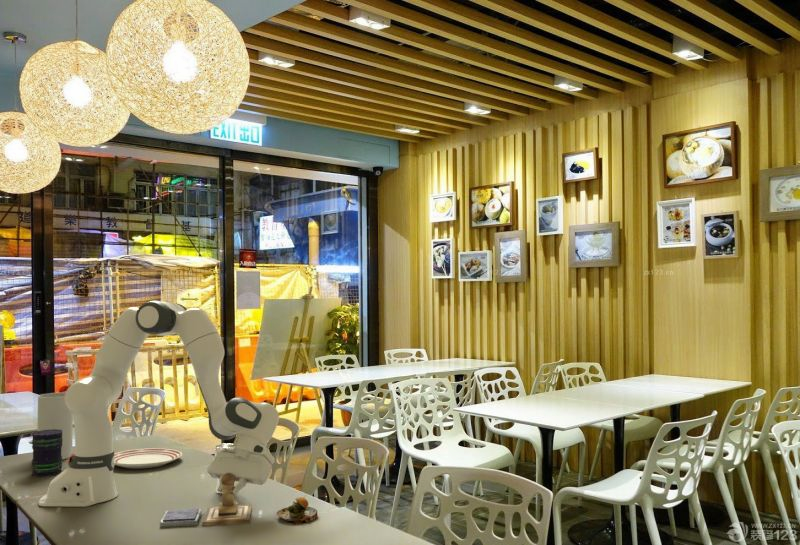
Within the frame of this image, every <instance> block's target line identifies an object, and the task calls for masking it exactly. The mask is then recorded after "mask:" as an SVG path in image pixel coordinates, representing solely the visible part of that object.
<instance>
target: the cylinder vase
mask: <svg viewBox="0 0 800 545" xmlns="http://www.w3.org/2000/svg"><path fill="white" fill-rule="evenodd" d="M65 393H66V392H50V393H42V394H39V395H38V396H37V431H41V430H52V429H57V430H62V438H63V441H62V447H61V456H62V461H63V460H68V458H69V457H70V456H71V454H73V436H74V435H73V433H74V432H73V429H74V428H73V427H74V422H73V418H72V414H71V411H70V409H69V408H68V407H67V405H66V403H65ZM37 431H36V432H37Z"/></svg>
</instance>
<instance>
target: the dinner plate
mask: <svg viewBox="0 0 800 545" xmlns="http://www.w3.org/2000/svg"><path fill="white" fill-rule="evenodd" d="M114 456H115V463H114V466H118V467H121V468H124V469H132V470H133V469H135V470H136V469H138V470H140V469H151V468H157V467H161V466H165V465H167V464H169V463H171V462H174V461H176V460H177V459H179V458H181V457H182V456H183V452H182V451H179V450H177V449H172V448H159V447H158V448H152V447H151V448H150V447H149V448H148V447H147V448H137V449H136V448H135V449H129V450H128V449H127V450H122V451H119V452H114Z"/></svg>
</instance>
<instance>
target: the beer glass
mask: <svg viewBox="0 0 800 545" xmlns="http://www.w3.org/2000/svg"><path fill="white" fill-rule="evenodd" d="M235 445H236V443H220V444H217V445H215V448H214V457H215V456H216V455H217V454H218V453H219V452H220V451H222V450H224V449H228V450H233V449H234V447H235ZM216 479H217V480H216V487H215V493H216V494H218V493H220V492H218V490H217V489H218V487H219V485H220V483H219V479H218V478H216ZM219 495H222V494H221V493H220V494H219Z"/></svg>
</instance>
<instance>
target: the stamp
mask: <svg viewBox="0 0 800 545" xmlns="http://www.w3.org/2000/svg"><path fill="white" fill-rule="evenodd" d="M221 482H222V494H221V502H219V504H218V506H217V507H218V516H231V515H236V513H237V506H238V501H235V495H233V494H232V493H230V491H231V489H232V487H235V482H236V481H235V476H234V475H233V474H232V473H226V474H224V475H223V476H222V478H221Z"/></svg>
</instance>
